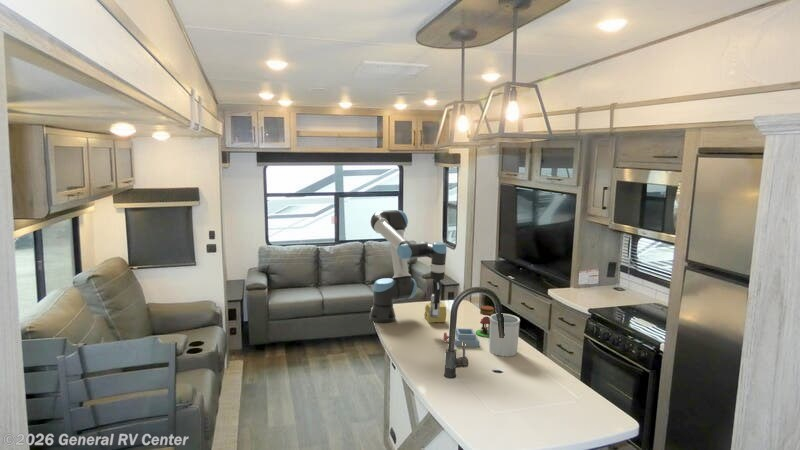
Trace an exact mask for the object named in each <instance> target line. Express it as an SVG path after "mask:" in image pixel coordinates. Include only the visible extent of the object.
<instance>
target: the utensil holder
mask: <svg viewBox="0 0 800 450" xmlns="http://www.w3.org/2000/svg"><path fill="white" fill-rule="evenodd" d="M496 314H497V313H494V314H493V315H491V316H489V318H490V337H489V341H488V342H489V343H488V348H489V350H490V351H489V352H490V353H491V354H493V355H495V356H498V355H499V356H498V357H504V356H505V357H514V356H516V355H517V354H518V346H519V334H520V323H521V319H520V317H518V316H516V315H513V314H510V313H502V314H503V317H504V333H505V336H504V338H503V339H500V338H499V333H498V321H497V317H496ZM516 353H517V354H516ZM505 357H504V358H505Z"/></svg>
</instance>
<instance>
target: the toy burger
mask: <svg viewBox="0 0 800 450" xmlns="http://www.w3.org/2000/svg"><path fill="white" fill-rule="evenodd" d="M494 311H495V308H494V307H493V306H491V305H481V306H480V310H479V312H480V315H483V317H482V318H481V319H480V322H479V323H480V324H481V325H482V326H481V327H480V329H477V330H476V331H475V334H476V336H477V335H478V336H479V337H484V338H490V316H491V315H493V314H495V312H494Z"/></svg>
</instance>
